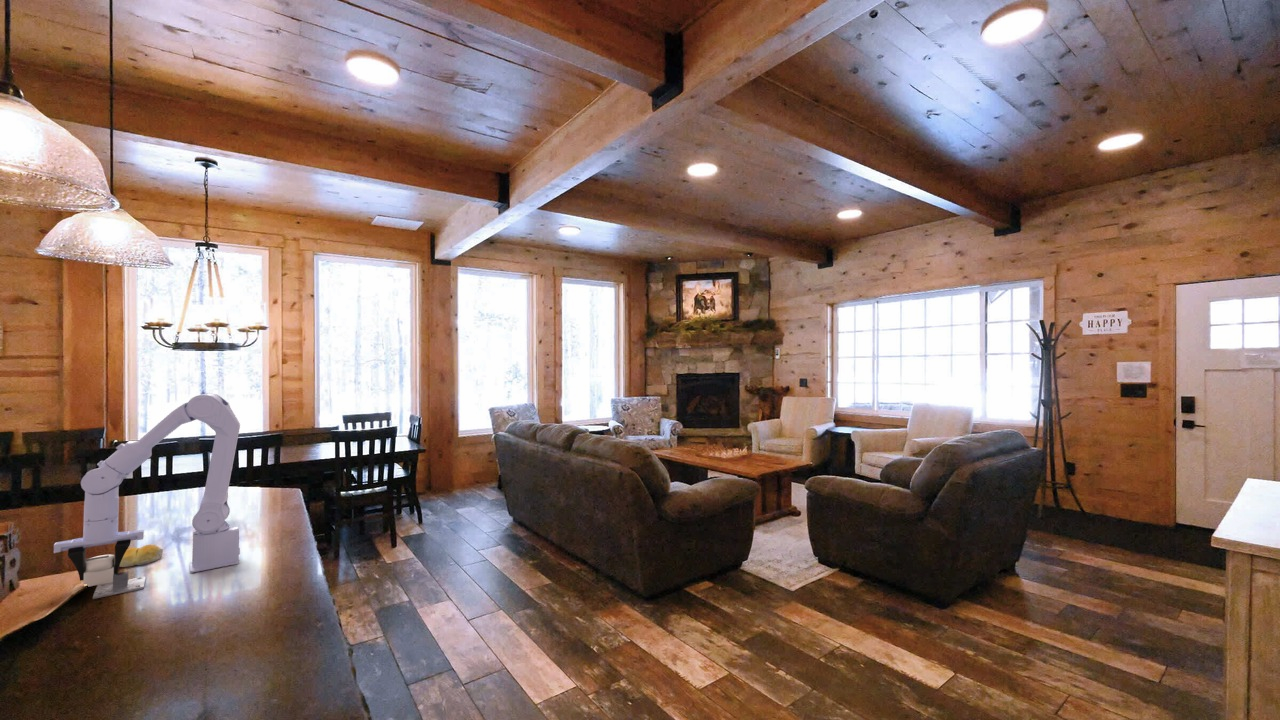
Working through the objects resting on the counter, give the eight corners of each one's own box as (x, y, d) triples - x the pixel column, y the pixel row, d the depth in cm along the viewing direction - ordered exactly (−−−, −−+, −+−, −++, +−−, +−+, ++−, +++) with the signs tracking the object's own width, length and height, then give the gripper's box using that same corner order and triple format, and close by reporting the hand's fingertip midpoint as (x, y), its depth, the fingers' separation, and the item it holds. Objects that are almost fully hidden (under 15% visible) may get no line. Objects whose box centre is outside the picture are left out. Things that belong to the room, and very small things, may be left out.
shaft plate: (145, 578, 123) (146, 564, 123) (143, 588, 117) (144, 574, 117) (97, 587, 118) (97, 573, 118) (92, 599, 112) (93, 583, 112)
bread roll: (120, 560, 135) (120, 545, 135) (165, 554, 139) (165, 539, 139) (107, 570, 128) (108, 554, 128) (155, 564, 132) (156, 548, 132)
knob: (115, 576, 124) (115, 551, 124) (113, 582, 120) (113, 557, 120) (86, 581, 121) (86, 556, 121) (83, 588, 117) (83, 562, 117)
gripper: (144, 509, 129) (143, 563, 128) (58, 520, 119) (56, 578, 119) (143, 515, 123) (141, 571, 123) (52, 527, 114) (50, 588, 113)
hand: (99, 576), depth 121 cm, fingers closed on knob, 5 cm apart
